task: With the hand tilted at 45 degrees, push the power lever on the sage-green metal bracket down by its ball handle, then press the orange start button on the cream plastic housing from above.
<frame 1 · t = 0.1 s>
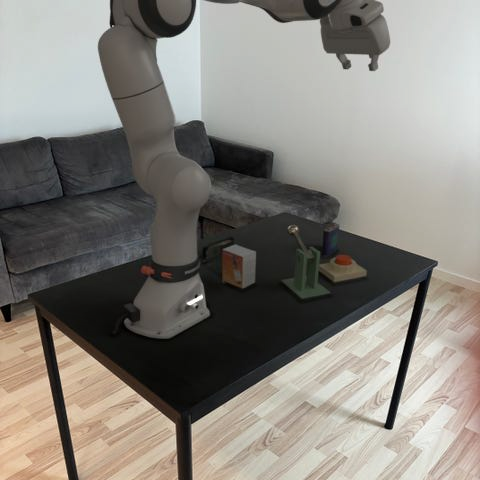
hand: (360, 69, 124), 54 cm above the table, tool tilted 30°, fingers open, 8 cm apart
switch bracket: (305, 289, 134), on the table
small box: (238, 284, 137), on the table
start button: (343, 260, 140), point 5 cm above the table, slide at 0.1 cm
button housing: (341, 275, 143), on the table
power lever: (300, 243, 132), point 12 cm above the table, hinge at 26.0°
flask: (329, 253, 158), on the table
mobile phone: (217, 256, 155), on the table
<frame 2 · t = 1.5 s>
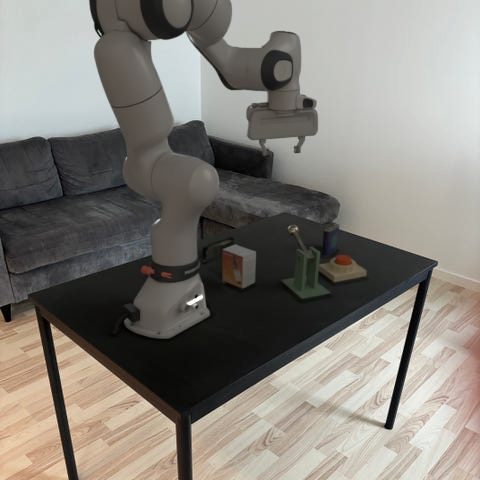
hand: (281, 154, 136), 33 cm above the table, tool pointing down, fingers open, 8 cm apart
nothing on the table moved.
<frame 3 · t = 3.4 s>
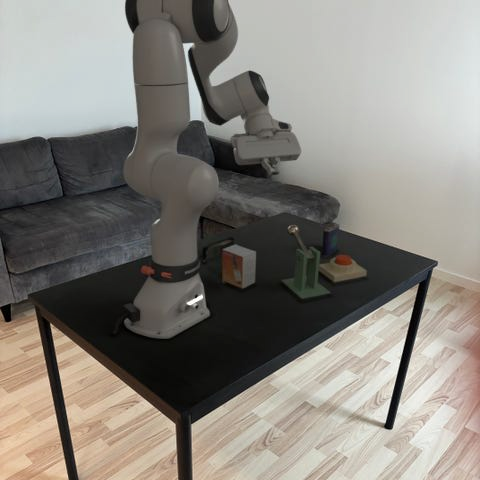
hand: (274, 173, 138), 27 cm above the table, tool tilted 45°, fingers closed
nothing on the table moved.
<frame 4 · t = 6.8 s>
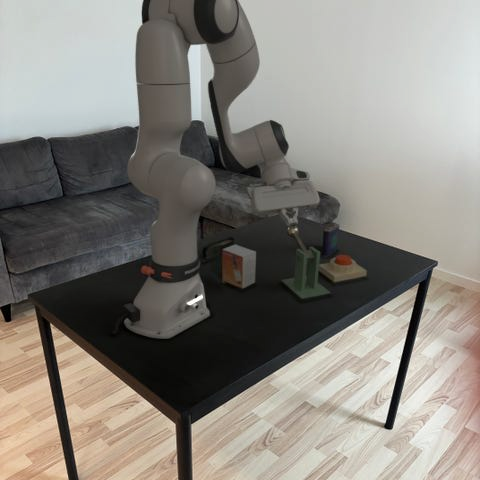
hand: (292, 225, 134), 16 cm above the table, tool tilted 45°, fingers closed, pressing on power lever
power lever: (300, 243, 132), point 12 cm above the table, hinge at 24.0°, touching gripper
everything else where it was.
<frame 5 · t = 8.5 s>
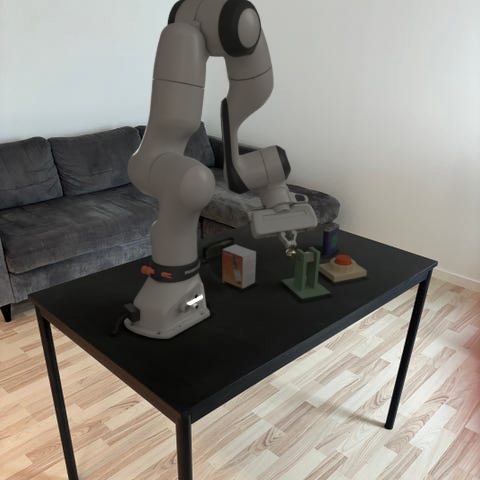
hand: (291, 247, 137), 9 cm above the table, tool tilted 45°, fingers closed, pressing on power lever
power lever: (298, 255, 134), point 8 cm above the table, hinge at -17.3°, touching gripper
everything else where it was.
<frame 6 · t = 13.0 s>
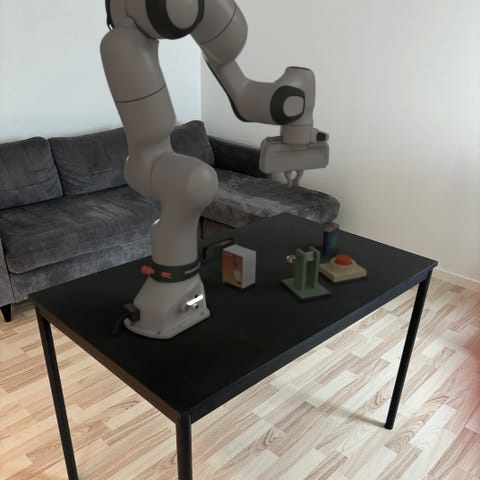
hand: (292, 186, 135), 25 cm above the table, tool pointing down, fingers closed
power lever: (299, 258, 134), point 8 cm above the table, hinge at -27.7°
everything else where it was.
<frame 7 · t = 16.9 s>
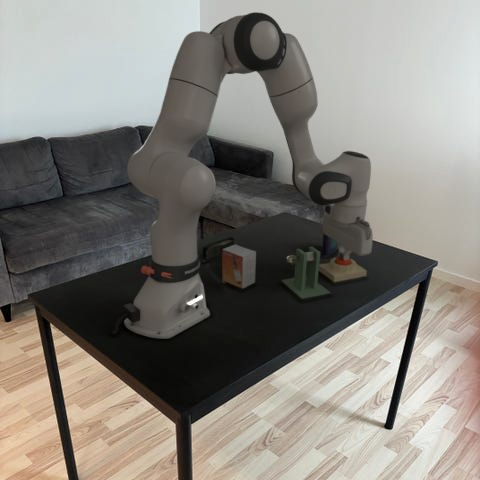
hand: (343, 258, 140), 5 cm above the table, tool pointing down, fingers closed, pressing on start button
start button: (343, 261, 140), point 5 cm above the table, slide at -0.3 cm, touching gripper
everything else where it was.
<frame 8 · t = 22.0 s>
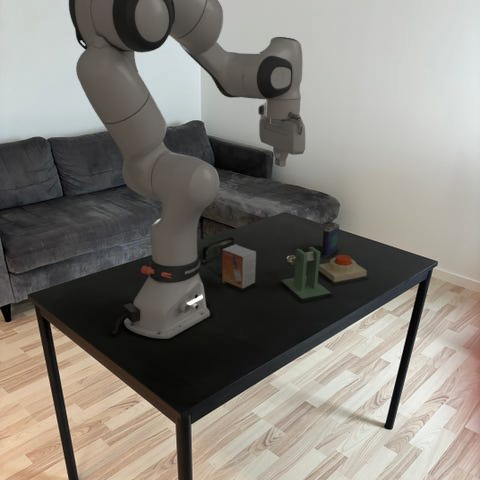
hand: (280, 165, 130), 31 cm above the table, tool pointing down, fingers closed
start button: (343, 260, 140), point 5 cm above the table, slide at 0.1 cm
everything else where it was.
at the end: power lever at -28° (first picture: +26°); start button pushed in 1.0 cm at the most during the clip, back to where it started at the end; start button slide at 0.1 cm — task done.
